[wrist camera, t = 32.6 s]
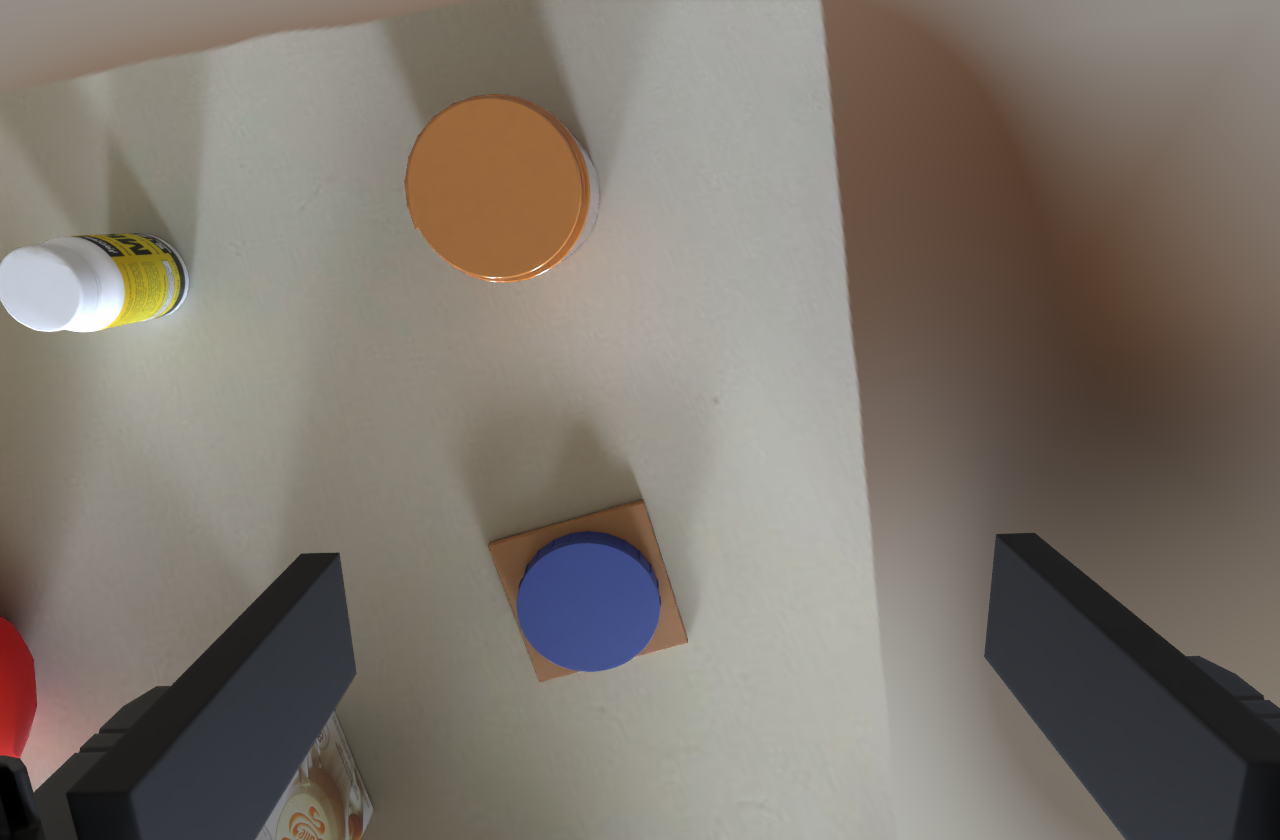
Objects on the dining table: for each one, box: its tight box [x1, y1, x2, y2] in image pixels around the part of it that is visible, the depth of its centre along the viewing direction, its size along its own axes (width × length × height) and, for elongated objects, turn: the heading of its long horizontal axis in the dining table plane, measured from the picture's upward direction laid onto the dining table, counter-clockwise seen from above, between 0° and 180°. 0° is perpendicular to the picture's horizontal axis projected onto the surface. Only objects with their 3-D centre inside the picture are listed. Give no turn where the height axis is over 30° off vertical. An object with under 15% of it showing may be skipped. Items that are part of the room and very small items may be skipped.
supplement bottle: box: [0, 233, 189, 332], centre depth 40 cm, size 5×5×8 cm
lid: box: [516, 531, 661, 672], centre depth 48 cm, size 9×9×2 cm
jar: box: [404, 94, 600, 283], centre depth 38 cm, size 8×8×10 cm
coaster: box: [488, 500, 688, 682], centre depth 49 cm, size 10×10×1 cm
